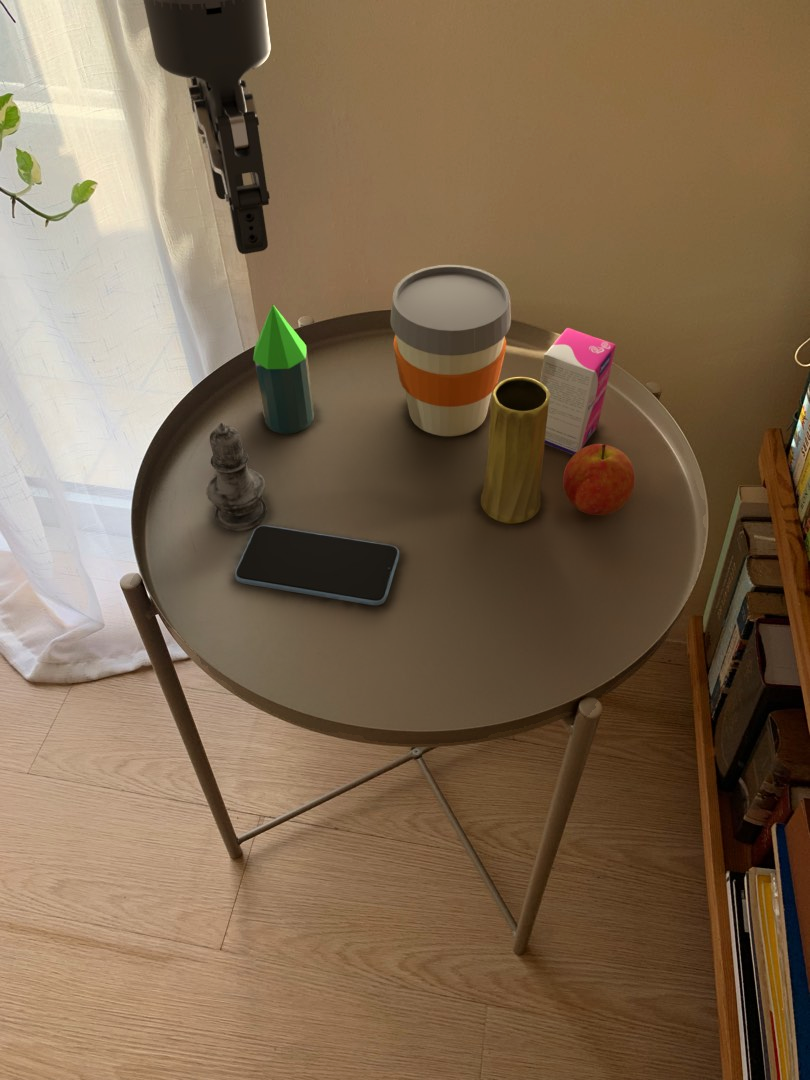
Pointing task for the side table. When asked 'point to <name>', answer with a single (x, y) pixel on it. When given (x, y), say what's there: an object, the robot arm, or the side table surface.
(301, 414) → the teal cup
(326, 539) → the smartphone
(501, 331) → the reusable coffee cup
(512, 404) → the vase
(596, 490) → the fruit
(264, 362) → the gemstone
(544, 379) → the supplement box
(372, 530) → the side table surface
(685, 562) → the side table surface
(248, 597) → the side table surface
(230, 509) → the chess piece
